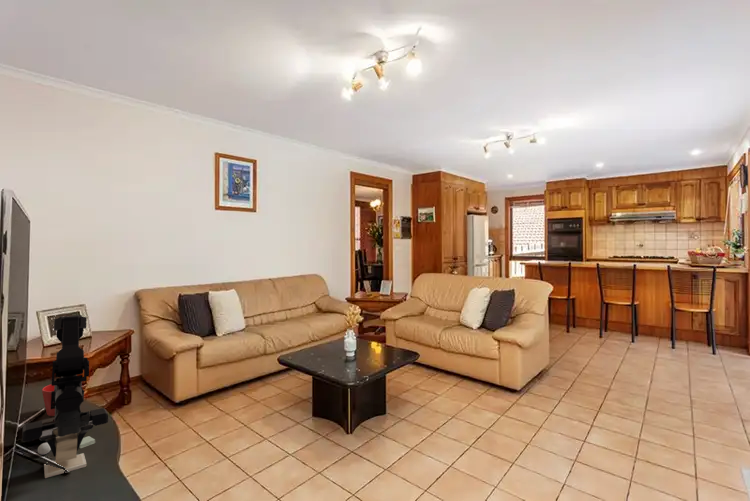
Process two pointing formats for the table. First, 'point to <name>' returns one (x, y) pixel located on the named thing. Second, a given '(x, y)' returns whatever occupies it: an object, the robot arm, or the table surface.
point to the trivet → (68, 464)
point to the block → (66, 447)
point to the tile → (87, 442)
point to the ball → (44, 448)
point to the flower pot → (48, 399)
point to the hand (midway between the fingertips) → (65, 453)
